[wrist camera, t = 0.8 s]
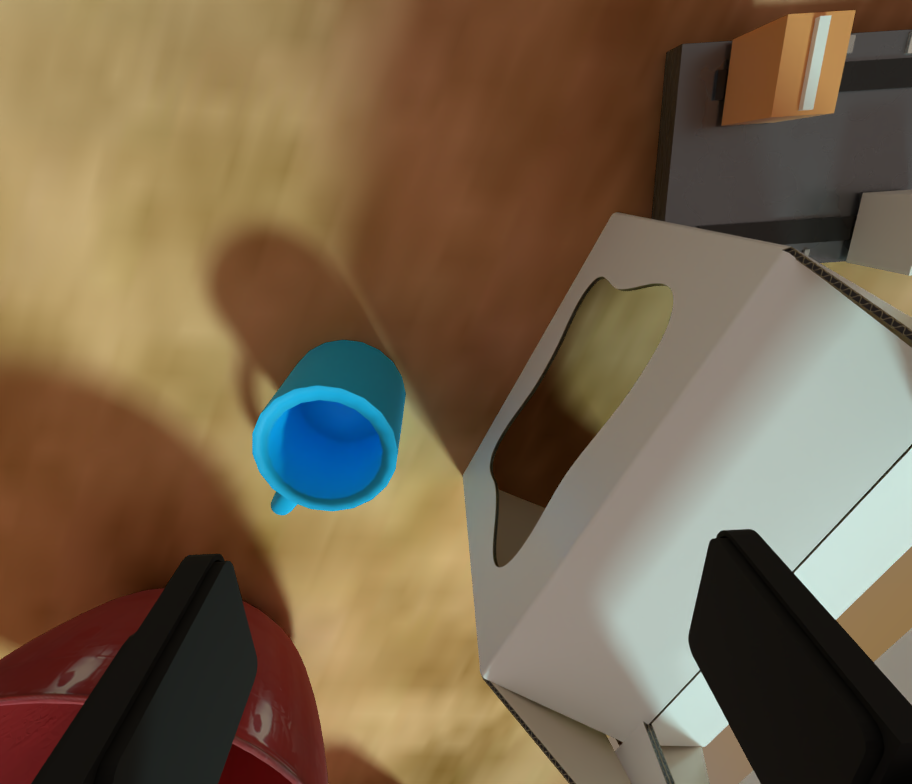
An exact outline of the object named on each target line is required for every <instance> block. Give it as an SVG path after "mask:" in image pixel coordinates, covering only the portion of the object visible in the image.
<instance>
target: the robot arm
mask: <svg viewBox="0 0 912 784" xmlns="http://www.w3.org/2000/svg"><path fill="white" fill-rule="evenodd" d="M688 642H689V647H690V651H691V653H692V656H693V658H694V660H695V661H696V663H697V665H698V667H699V669H700V671H701V673H702V675H703V676H704V678H705V680H706V682H707V684H708V686H709V688H710V690H711V691H712V693H713V695H714V697H715V699H716V701H717V703H718V705H719V706H720V708H721V710H722V712H723V714H724V716H725V718H726V720H727V721H728V723H729V725H730V727H731V729H732V731H733V733H734V734H735V736H736V738H737V740H738V742H739V744H740V746H741V747H742V749H743V751H744V753H745V755H746V757H747V759H748V761H749V762H750V764H751V766H752V768H753V770H754V772H755V774H756V776H757V778H758V779H759V781H760V783H761V784H912V705H911V704H910V703H909V701H908V700H907V699H906V698H905V697H904V696H903V695H902V694H901V693H900V691H899V690H898V689H897V688H896V687H895V686H894V685H893V684H892V682H891V681H890V680H889V679H888V678H887V677H886V676H885V675H884V674H883V672H882V671H881V670H880V669H879V668H878V667H877V666H876V665H875V663H874V662H873V661H872V660H871V659H870V658H869V657H868V656H867V655H866V654H865V652H864V651H863V650H862V649H861V648H860V647H859V646H858V644H857V643H856V642H855V641H854V640H853V639H852V638H851V637H850V636H849V634H848V633H847V632H846V631H845V630H844V629H843V628H842V627H841V626H840V625H839V623H838V622H837V621H836V620H835V619H834V618H833V617H832V615H831V614H830V613H829V612H828V611H827V610H826V609H825V608H824V607H823V605H822V604H821V603H820V602H819V601H818V600H817V599H816V598H815V596H814V595H813V594H812V593H811V592H810V591H809V590H808V589H807V588H806V586H805V585H804V584H803V583H802V582H801V581H800V580H799V579H798V577H797V576H796V575H795V574H794V573H793V572H792V571H791V570H790V569H789V567H788V566H787V565H786V564H785V563H784V562H783V561H782V560H781V559H780V557H779V556H778V555H777V554H776V553H775V552H774V551H773V550H772V548H771V547H770V546H769V545H768V544H767V543H766V542H765V541H764V540H763V538H762V537H761V536H760V535H759V534H758V533H757V532H756V531H754V530H752V529H740V530H723V531H720V532H719V533H718V534H717V537H716V538H714V539H711V540H710V542H709V545H708V550H707V554H706V559H705V563H704V567H703V572H702V576H701V581H700V585H699V590H698V594H697V599H696V603H695V608H694V612H693V616H692V621H691V625H690V630H689V635H688ZM257 665H258V664H257V655H256V651H255V647H254V644H253V640H252V636H251V632H250V628H249V625H248V621H247V617H246V613H245V609H244V606H243V602H242V598H241V594H240V590H239V587H238V583H237V579H236V575H235V571H234V567H233V565H232V563H231V562H230V561H224V559H223V557H222V555H221V554H203V555H189V556H187V557H185V559H184V560H183V561H182V562H181V564H180V565H179V567H178V569H177V570H176V572H175V573H174V575H173V576H172V578H171V579H170V581H169V582H168V584H167V585H166V587H165V589H164V590H163V592H162V593H161V595H160V596H159V598H158V599H157V601H156V602H155V604H154V606H153V607H152V609H151V610H150V612H149V613H148V615H147V616H146V618H145V619H144V621H143V623H142V624H141V626H140V627H139V629H138V630H137V632H135V633H134V634H132V635H131V636H129V638H128V639H127V640H126V641H125V643H124V644H123V645H122V647H121V648H120V650H119V651H118V653H117V654H116V656H115V657H114V659H113V660H112V662H111V663H110V665H109V666H108V668H107V669H106V671H105V672H104V674H103V675H102V677H101V678H100V680H99V681H98V683H97V684H96V686H95V688H94V689H93V691H92V692H91V694H90V695H89V697H88V698H87V700H86V701H85V703H84V704H83V706H82V707H81V709H80V710H79V712H78V713H77V715H76V716H75V718H74V719H73V721H72V722H71V724H70V725H69V727H68V728H67V730H66V731H65V733H64V735H63V736H62V738H61V739H60V741H59V742H58V744H57V745H56V747H55V748H54V750H53V751H52V753H51V754H50V756H49V757H48V759H47V760H46V762H45V763H44V765H43V766H42V768H41V769H40V771H39V772H38V774H37V775H36V777H35V778H34V780H33V782H32V783H31V784H218V782H219V780H220V777H221V774H222V771H223V768H224V766H225V763H226V760H227V757H228V754H229V751H230V749H231V746H232V743H233V740H234V737H235V734H236V732H237V729H238V726H239V723H240V720H241V717H242V715H243V712H244V709H245V706H246V703H247V701H248V698H249V695H250V692H251V689H252V686H253V684H254V681H255V677H256V673H257Z"/></svg>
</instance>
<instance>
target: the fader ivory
mask: <svg viewBox="0 0 912 784" xmlns="http://www.w3.org/2000/svg"><path fill="white" fill-rule="evenodd" d="M846 262H848V263H853V264H857V265H862V266H867V267H872V268H876V269H881V270H886V271H890V272H895V273H900V274H905V275H912V190H897V191H882V192H867V193H863V194H862V199H861V203H860V207H859V211H858V215H857V219H856V223H855V227H854V231H853V235H852V239H851V243H850V248H849V252H848V256H847V260H846Z"/></svg>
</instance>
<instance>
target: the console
mask: <svg viewBox="0 0 912 784" xmlns="http://www.w3.org/2000/svg"><path fill="white" fill-rule="evenodd" d="M731 49H732V41H723V42H707V43H691V44H682V45H680V46H678V47H676V48H674V49H672V50H670V51H669V52H667V53H666V64H665V75H664V87H663V98H662V109H661V120H660V131H659V142H658V153H657V164H656V175H655V186H654V197H653V208H652V219H654V220H659V221H664V222H669V223H674V224H680V225H685V226H690V227H695V228H700V229H705V230H710V231H715V232H720V233H725V234H730V235H735V236H740V237H745V238H750V239H755V240H760V241H765V242H771V243H776V244H781V245H786V246H791V247H793V248H795V249H796V250H798V251H800V252H801V253H803V254H805V255H807V256H808V257H810V258H812V259H813V260H815V261H817V262H818V263H825V262H840V261H846V260H847V256H848V252H849V248H850V243H851V239H852V235H853V231H854V227H855V223H856V219H857V215H858V211H859V207H860V203H861V199H862V194H863V193H867V192H882V191H897V190H912V30H896V31H881V32H865V33H851V35H850V40H849V45H848V50H847V54H846V59H845V64H844V69H843V73H842V78H841V83H840V87H839V92H838V97H837V102H836V106H835V111H834V113H832V114H826V115H820V116H813V117H807V118H800V119H794V120H787V121H781V122H774V123H759V124H743V125H728V126H721V124H722V116H723V109H724V101H725V94H726V86H727V79H728V71H729V64H730V56H731Z"/></svg>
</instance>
